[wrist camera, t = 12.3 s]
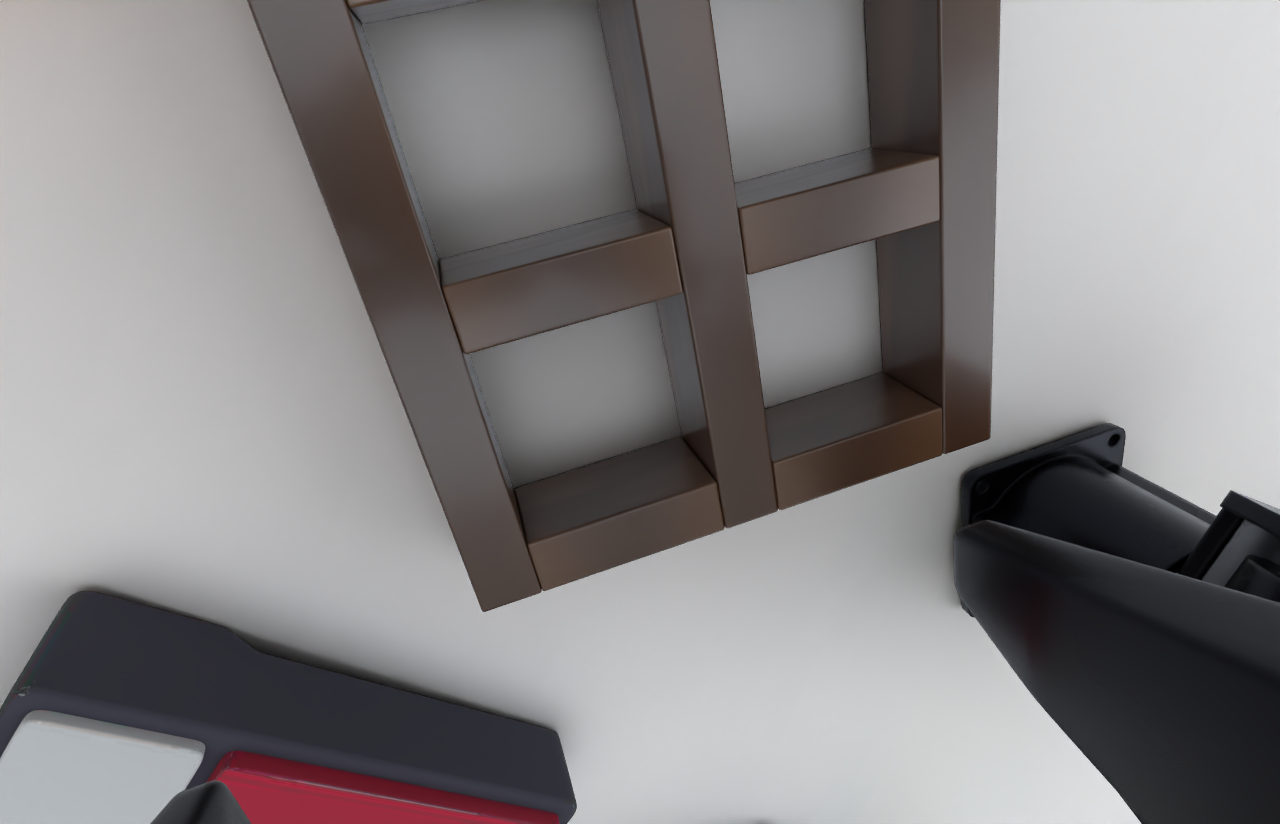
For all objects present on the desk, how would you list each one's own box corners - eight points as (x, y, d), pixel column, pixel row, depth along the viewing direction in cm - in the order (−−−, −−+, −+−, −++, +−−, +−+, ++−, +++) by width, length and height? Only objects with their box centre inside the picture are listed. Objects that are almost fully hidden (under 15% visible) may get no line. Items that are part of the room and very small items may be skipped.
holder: (915, -168, 17) (1007, -218, 14) (927, 401, 24) (991, 439, 21) (252, -48, 14) (214, -82, 12) (475, 549, 21) (482, 613, 18)
